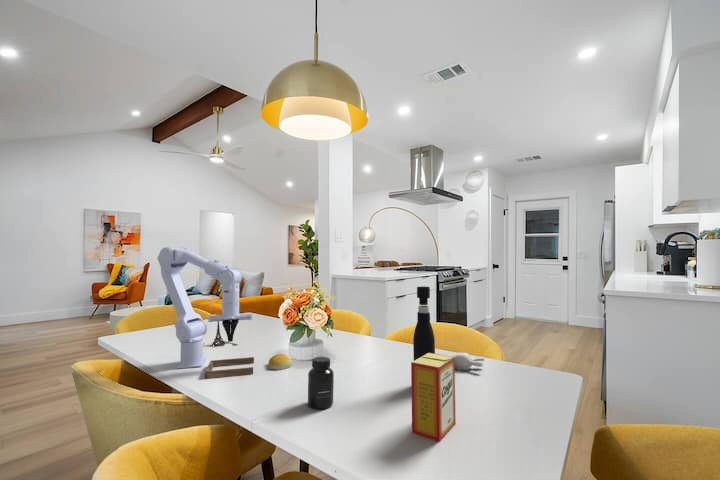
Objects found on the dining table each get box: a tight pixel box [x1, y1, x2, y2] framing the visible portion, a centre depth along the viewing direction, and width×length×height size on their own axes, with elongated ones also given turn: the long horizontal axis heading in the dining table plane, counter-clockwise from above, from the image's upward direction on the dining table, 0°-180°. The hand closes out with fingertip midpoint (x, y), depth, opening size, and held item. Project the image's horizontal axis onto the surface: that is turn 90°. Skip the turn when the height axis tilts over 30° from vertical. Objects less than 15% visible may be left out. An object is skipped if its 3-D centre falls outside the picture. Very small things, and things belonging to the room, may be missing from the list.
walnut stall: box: [204, 356, 255, 380], centre depth 121 cm, size 13×15×2 cm
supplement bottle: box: [307, 356, 335, 410], centre depth 93 cm, size 7×7×12 cm
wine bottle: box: [412, 285, 436, 361], centre depth 105 cm, size 6×6×30 cm
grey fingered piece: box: [445, 352, 485, 371], centre depth 121 cm, size 10×5×15 cm
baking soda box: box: [410, 353, 457, 443], centre depth 80 cm, size 10×6×16 cm
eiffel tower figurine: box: [210, 321, 239, 348], centre depth 155 cm, size 15×10×13 cm
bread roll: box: [268, 353, 293, 371], centre depth 125 cm, size 8×9×4 cm
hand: (230, 341), depth 123 cm, fingers closed
